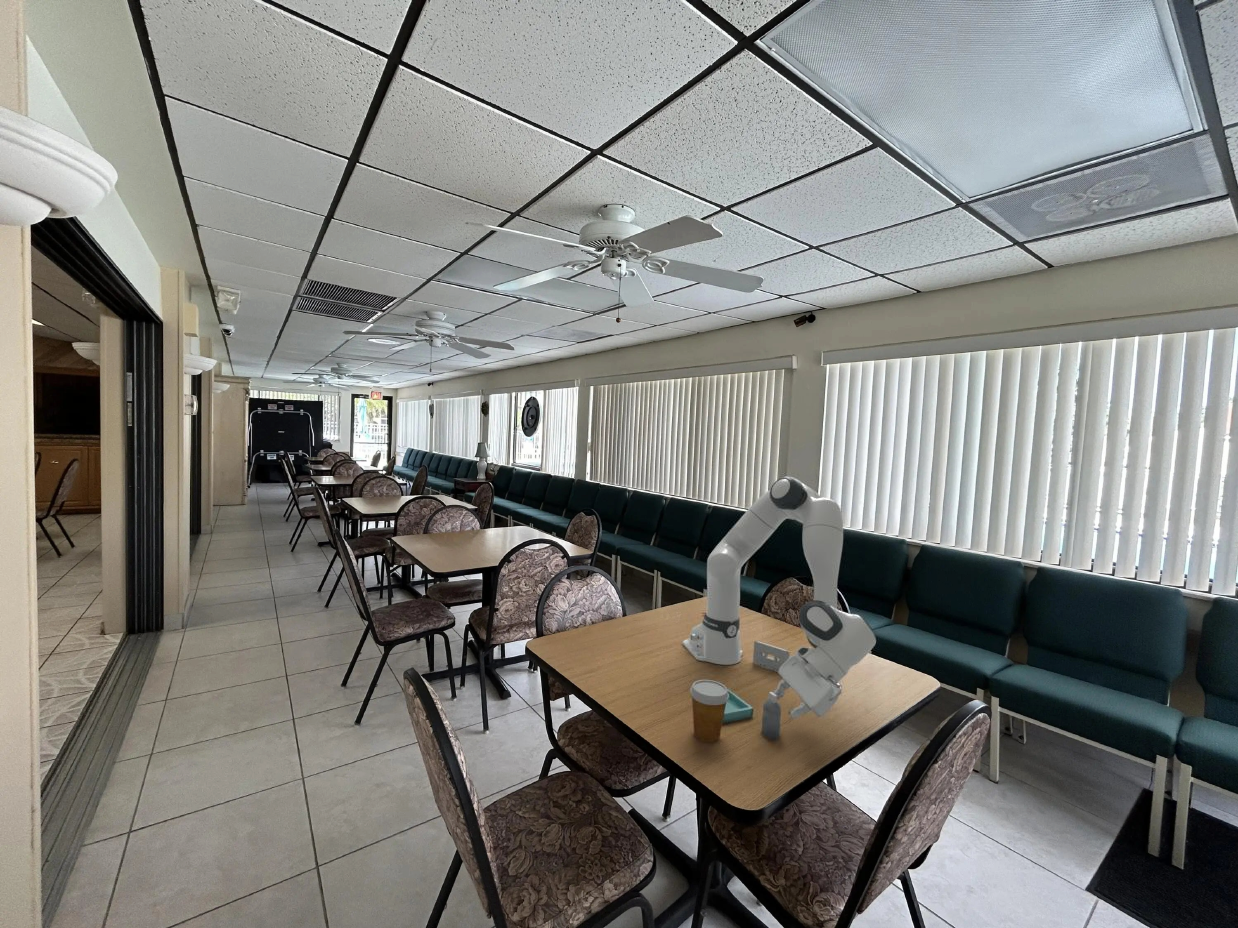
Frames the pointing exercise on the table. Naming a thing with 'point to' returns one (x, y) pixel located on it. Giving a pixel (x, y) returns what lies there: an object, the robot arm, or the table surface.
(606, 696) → the table surface
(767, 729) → the gray bottle
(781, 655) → the cassette
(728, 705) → the tray
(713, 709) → the disposable coffee cup
